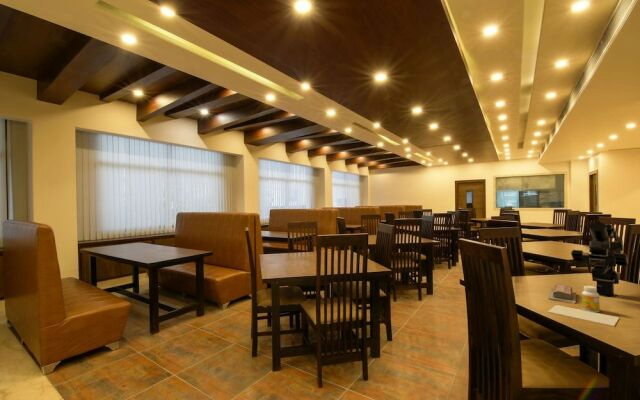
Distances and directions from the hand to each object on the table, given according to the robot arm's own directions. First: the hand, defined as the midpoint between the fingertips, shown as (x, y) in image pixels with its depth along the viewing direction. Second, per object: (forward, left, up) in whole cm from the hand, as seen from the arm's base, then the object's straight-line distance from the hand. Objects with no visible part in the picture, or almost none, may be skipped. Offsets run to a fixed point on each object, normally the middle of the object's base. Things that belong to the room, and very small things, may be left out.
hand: (596, 272), depth 135 cm
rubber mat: (+21, +9, -14) cm, 26 cm away
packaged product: (+5, -11, -14) cm, 19 cm away
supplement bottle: (+12, +6, -14) cm, 19 cm away
